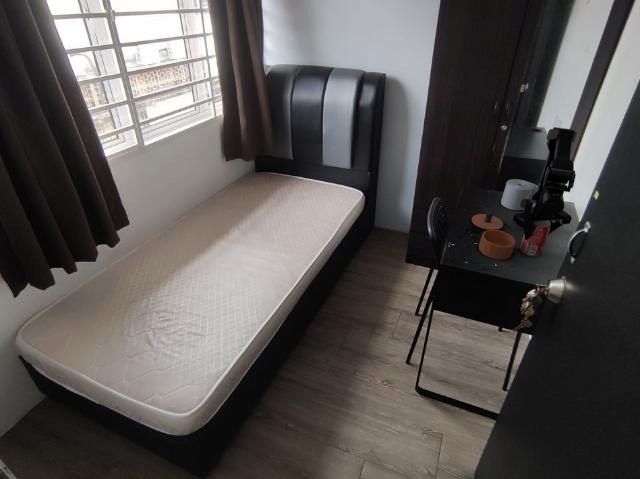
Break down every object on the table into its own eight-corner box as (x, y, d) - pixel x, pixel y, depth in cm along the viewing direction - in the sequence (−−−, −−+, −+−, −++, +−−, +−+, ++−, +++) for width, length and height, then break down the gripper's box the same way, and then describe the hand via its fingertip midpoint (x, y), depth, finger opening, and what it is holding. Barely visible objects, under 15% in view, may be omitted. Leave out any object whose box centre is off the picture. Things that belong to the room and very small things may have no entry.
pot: (500, 240, 147) (504, 228, 144) (517, 258, 138) (522, 245, 135) (473, 243, 146) (476, 231, 143) (488, 261, 136) (493, 248, 133)
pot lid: (492, 215, 163) (495, 204, 161) (508, 230, 154) (512, 219, 151) (466, 217, 162) (468, 206, 159) (480, 232, 152) (483, 221, 149)
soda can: (542, 258, 138) (555, 228, 130) (521, 256, 139) (532, 225, 132) (537, 247, 143) (549, 217, 136) (516, 245, 145) (527, 215, 137)
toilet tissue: (495, 200, 174) (501, 180, 169) (518, 197, 177) (525, 177, 171) (510, 211, 166) (517, 191, 160) (534, 208, 168) (542, 188, 163)
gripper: (557, 187, 137) (543, 224, 146) (510, 191, 134) (498, 229, 143) (580, 202, 128) (563, 241, 137) (529, 206, 125) (515, 246, 134)
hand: (534, 238), depth 138 cm, fingers closed on soda can, 6 cm apart
